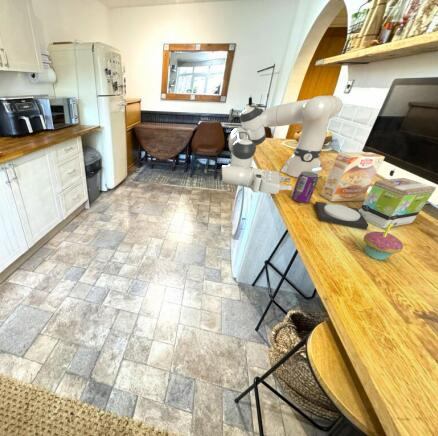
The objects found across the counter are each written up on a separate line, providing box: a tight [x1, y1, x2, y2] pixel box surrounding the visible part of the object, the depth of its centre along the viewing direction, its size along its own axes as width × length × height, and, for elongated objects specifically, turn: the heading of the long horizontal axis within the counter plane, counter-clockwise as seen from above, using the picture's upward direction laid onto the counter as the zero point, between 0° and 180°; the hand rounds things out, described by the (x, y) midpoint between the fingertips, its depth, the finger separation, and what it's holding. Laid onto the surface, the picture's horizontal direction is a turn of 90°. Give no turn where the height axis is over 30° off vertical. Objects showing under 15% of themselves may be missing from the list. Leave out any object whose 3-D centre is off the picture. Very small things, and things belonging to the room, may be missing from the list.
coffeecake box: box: [320, 151, 386, 203], centre depth 101 cm, size 15×7×20 cm, turn 95°
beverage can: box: [290, 171, 319, 204], centre depth 100 cm, size 7×7×12 cm
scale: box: [313, 201, 369, 231], centre depth 90 cm, size 14×14×3 cm
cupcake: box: [363, 221, 404, 261], centre depth 68 cm, size 9×8×12 cm
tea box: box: [358, 177, 437, 229], centre depth 86 cm, size 15×10×15 cm, turn 107°
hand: (291, 183), depth 102 cm, fingers open, 8 cm apart
